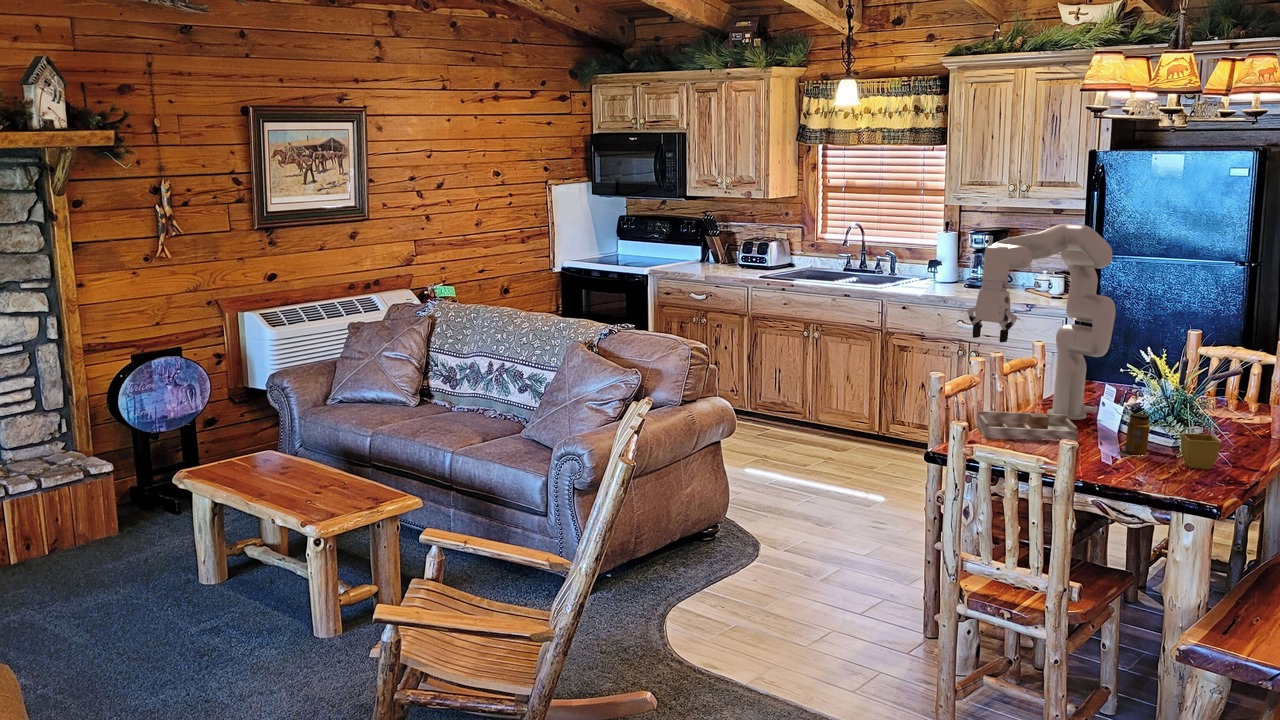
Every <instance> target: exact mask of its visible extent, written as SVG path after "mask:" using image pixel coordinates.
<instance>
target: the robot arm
mask: <svg viewBox="0 0 1280 720" xmlns="http://www.w3.org/2000/svg"><path fill="white" fill-rule="evenodd" d="M1058 253H1060V257H1061V259H1062V262H1064V263H1065V265H1066V267H1067V269H1068V270H1069V271H1068V272H1069V274H1070V285H1069V288H1068V293H1067V294H1068V295H1067V299H1066V300H1067V301H1066V307H1065V312H1066V316H1067V317H1068V318H1069V319H1071V320H1073V321H1074V320H1075V321H1077V322H1083V323H1089V324H1091V325H1092V326H1088V325H1087V326H1086V325H1081V324H1074V323H1073V324H1072V323H1071V324H1069V323H1068V324H1064V325H1062V326H1060V327H1059V329H1058V330H1057V332H1056V334H1055V343H1056V354H1057V355H1056V368H1055V378H1054V389H1053V400H1052V408H1050V409H1047V412H1046V414H1062V415H1068V418H1067V419H1069V420H1070V421H1073V420H1074V421H1079V420H1084V419H1087V413H1097V412H1098V407H1096V406H1092V405H1085V404H1084V394H1085V385H1086V375H1087V362H1086V359H1085V356H1087V357H1088V356H1089V357H1094V358H1099V357H1104V355H1106V354H1107V352H1108V351H1109V349H1110V345H1111V341H1112V335H1113V330H1114V325H1115V321H1116V304H1115V302H1114V301H1113V299H1112V298H1111V297H1108V296H1106V295H1100V294H1097V291H1098V282H1099V278H1098V275H1097V271H1096V269H1104V268H1106V267H1108V266H1109V265H1110V264H1111V262H1112V260H1113V250H1112V247H1111V245H1110V244H1109V243H1108V242H1107V240H1105V239H1104V238H1103V237H1102V236H1101V235H1100V234H1099V233H1098V232H1097V231H1096V230H1095V229H1093V228H1092V227H1090V226H1088V225H1083V224H1070V223H1061V224H1057V225H1055V226H1052V227H1049V228H1047V229H1045V230H1042V231H1039V232H1034V233H1029V234H1024V235H1018V236H1011V237H1006V238H1004V239H1001V240H999V241H996V242H994V243H992V244H991V245H989V246H987V247H986V248H985V250H984V255H983V256H984V257H983V268H982V279H981V280H982V281H981V288H980V289H979V291H978V295H977V299H976V305H975V306H973V307H972V308H969V309H967V312H966V313H967V315H968V320H970V322H971V325H972V338H973V339H975V338H976V339H977V338H980V337H981V330H982V325H981V323H982V322H989V323H995V324H999V326H1000V328H1001V329H1000V331H999V339H998V340H999V343H1002V344H1003V343H1007V341H1008V338H1009V330H1011V328H1012V327H1014V325H1015V323H1016V322H1017V320H1018V317H1017V316H1016V315H1015V314H1014V313H1013V312H1012V311H1011V295H1010V291H1009V290H1008V289H1010V288H1011V284H1010V283H1009V281H1008V279H1009V270H1017V271H1018V270H1019V271H1021V270H1025V269H1027V268H1028V267H1029V266H1030V265H1031V263H1032V262H1033V260H1042V259H1046V258H1049V257H1051V256H1054V255H1056V254H1058Z"/></svg>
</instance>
